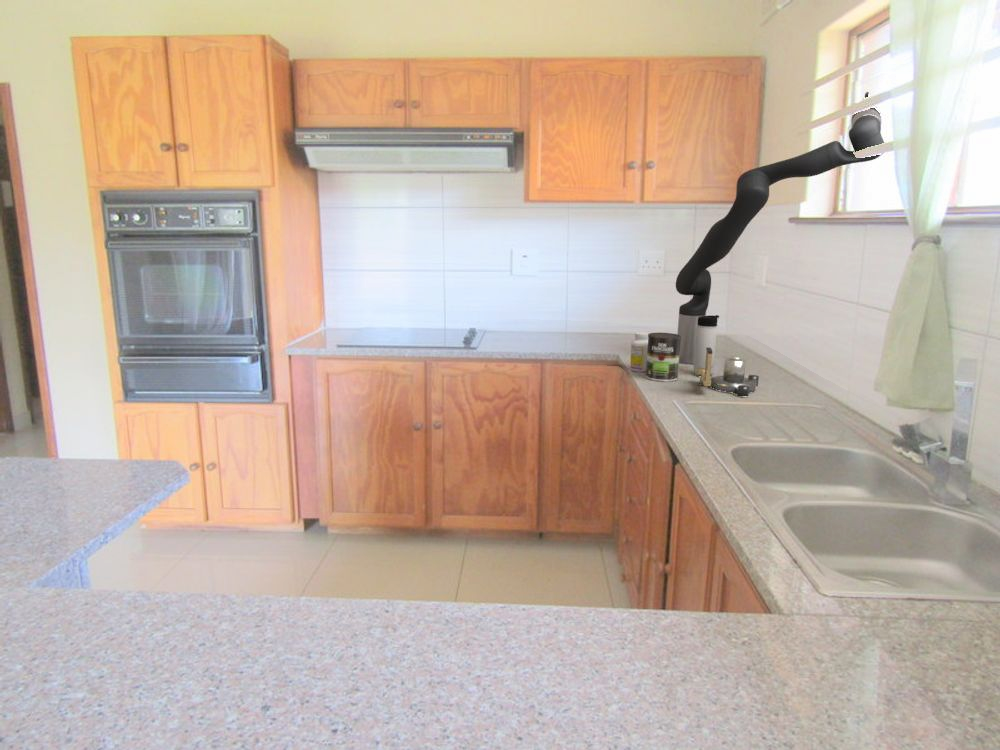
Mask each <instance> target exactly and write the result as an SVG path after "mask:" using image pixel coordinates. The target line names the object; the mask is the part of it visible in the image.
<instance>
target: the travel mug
mask: <svg viewBox="0 0 1000 750" xmlns="http://www.w3.org/2000/svg"><path fill="white" fill-rule="evenodd" d="M719 318H720V316H719V315H718V314H715V315H706V316H701V317H698V323H697V332H696V344H695V356H694V364H693V371H692V375H693V374H694V375H693V376H695V375H696V370H697V368H705V363H706V352H707V350H706V348H711V349H712V351H713V353H712V360H711V377H713V376H712V375H714V364H715V355H716V354H715V353H716V342H717V333H718V319H719ZM695 377H698V376H697V375H696V376H695Z"/></svg>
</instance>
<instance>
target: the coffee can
mask: <svg viewBox="0 0 1000 750" xmlns="http://www.w3.org/2000/svg"><path fill="white" fill-rule="evenodd" d="M680 342H681V336H680V335H677V333H671V332H650V333H649V334H648V350H647V364H646V372H645V378H646V379H648V380H650V381H653V382H661V381H663V383H667V382H669V381H671V382H676V381H677V380H678V376H679V375H678V374H679V365H680V364H679V363H680V362H679V354H680ZM675 380H676V381H675ZM669 383H670V382H669Z"/></svg>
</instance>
